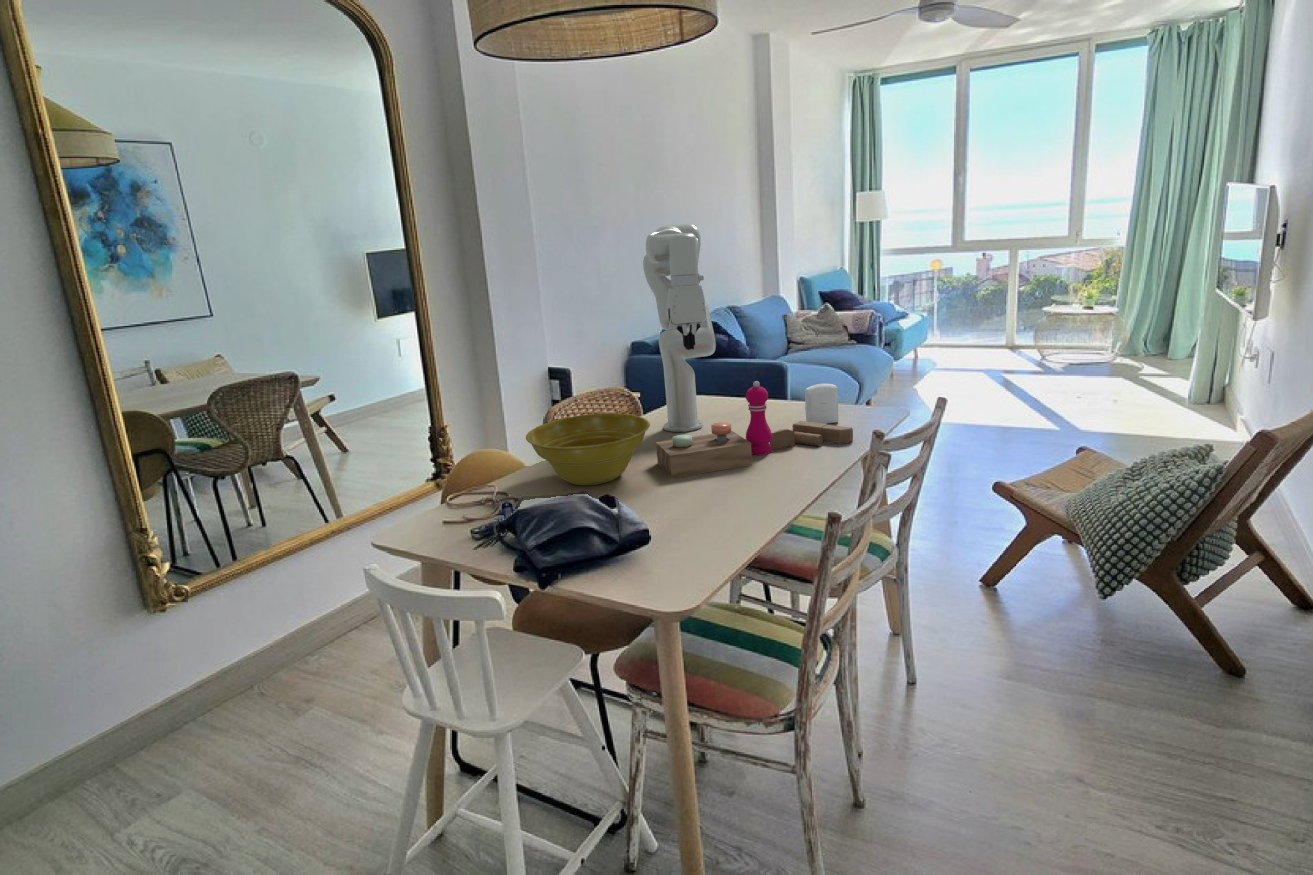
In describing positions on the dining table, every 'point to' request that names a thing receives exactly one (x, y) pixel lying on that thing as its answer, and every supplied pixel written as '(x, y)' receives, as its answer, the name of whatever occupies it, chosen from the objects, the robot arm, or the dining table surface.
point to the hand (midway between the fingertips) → (689, 348)
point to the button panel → (704, 455)
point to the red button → (721, 430)
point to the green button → (682, 441)
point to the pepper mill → (758, 420)
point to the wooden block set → (811, 435)
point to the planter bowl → (589, 445)
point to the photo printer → (821, 403)
